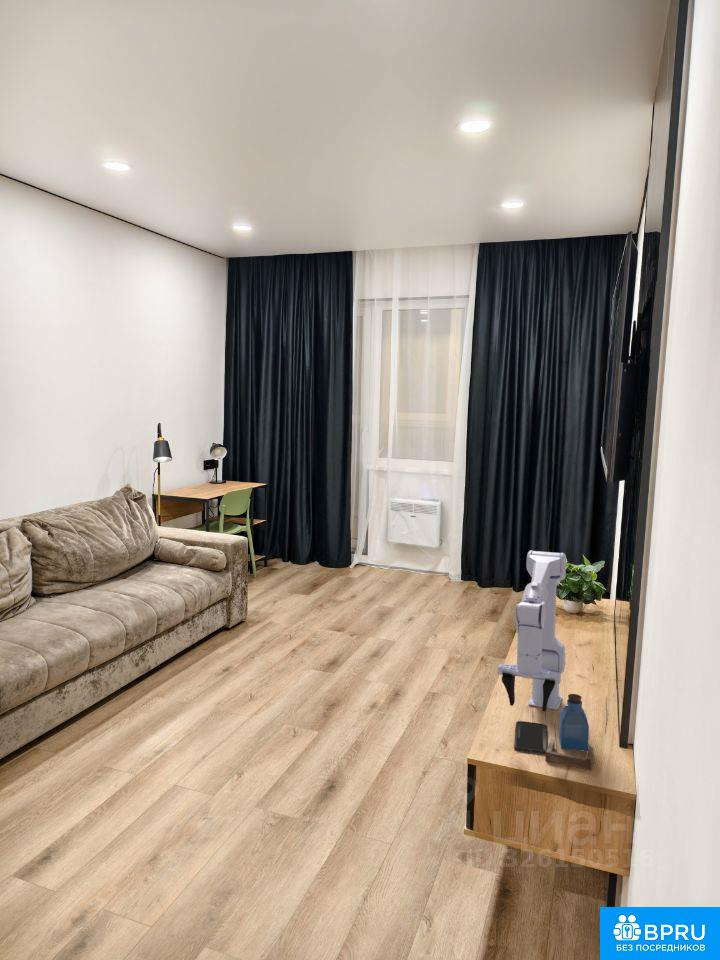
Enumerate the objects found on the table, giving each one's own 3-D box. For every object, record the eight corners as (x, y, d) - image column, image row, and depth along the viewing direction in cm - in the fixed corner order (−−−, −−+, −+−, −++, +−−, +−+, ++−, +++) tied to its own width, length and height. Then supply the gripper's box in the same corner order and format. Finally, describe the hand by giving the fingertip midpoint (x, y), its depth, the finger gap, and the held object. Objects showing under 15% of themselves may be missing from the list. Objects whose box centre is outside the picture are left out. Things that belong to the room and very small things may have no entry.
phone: (547, 724, 168) (547, 751, 154) (547, 728, 169) (547, 756, 154) (515, 720, 171) (513, 747, 156) (515, 724, 171) (513, 751, 156)
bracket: (550, 746, 158) (550, 738, 158) (593, 755, 154) (593, 747, 154) (545, 760, 151) (545, 752, 151) (590, 769, 147) (591, 761, 147)
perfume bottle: (585, 739, 162) (586, 692, 161) (588, 751, 156) (589, 702, 155) (559, 736, 163) (560, 690, 162) (561, 748, 157) (562, 700, 156)
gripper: (495, 652, 155) (494, 707, 156) (558, 662, 149) (556, 719, 150) (501, 643, 162) (500, 696, 163) (562, 652, 156) (561, 707, 157)
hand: (528, 706), depth 157 cm, fingers open, 7 cm apart
